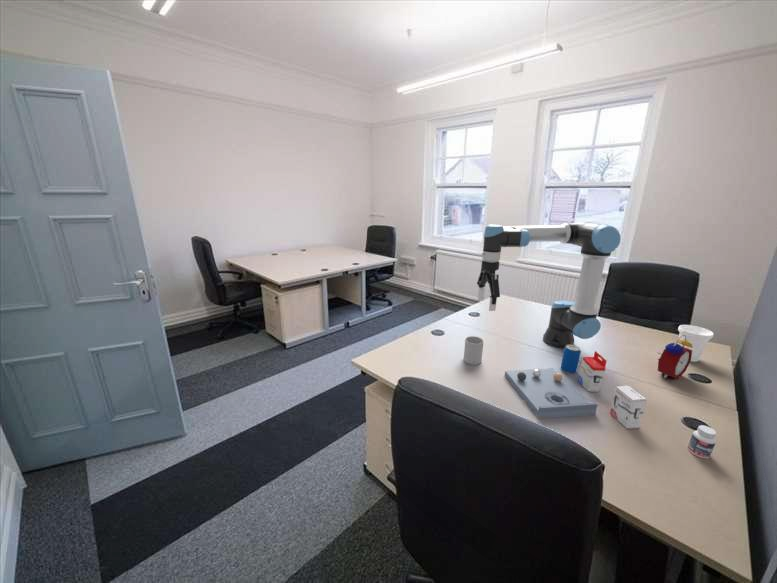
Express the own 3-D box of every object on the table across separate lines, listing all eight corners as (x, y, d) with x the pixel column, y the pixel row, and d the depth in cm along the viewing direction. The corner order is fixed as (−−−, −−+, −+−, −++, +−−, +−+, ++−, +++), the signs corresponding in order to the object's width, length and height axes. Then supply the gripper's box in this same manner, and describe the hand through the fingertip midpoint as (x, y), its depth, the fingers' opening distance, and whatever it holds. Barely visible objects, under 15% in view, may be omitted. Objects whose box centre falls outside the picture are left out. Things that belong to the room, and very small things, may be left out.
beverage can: (574, 368, 149) (579, 345, 145) (577, 375, 143) (582, 351, 140) (559, 366, 151) (563, 343, 147) (561, 373, 145) (566, 349, 142)
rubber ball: (523, 377, 137) (524, 370, 136) (527, 382, 134) (528, 374, 133) (515, 377, 137) (516, 370, 136) (519, 382, 134) (520, 375, 133)
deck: (504, 375, 143) (505, 366, 142) (551, 373, 145) (552, 364, 144) (539, 418, 117) (540, 408, 115) (595, 414, 119) (597, 404, 117)
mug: (481, 366, 151) (483, 345, 147) (463, 363, 153) (464, 342, 149) (481, 354, 162) (483, 334, 158) (464, 351, 164) (465, 332, 160)
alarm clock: (670, 383, 138) (683, 341, 132) (647, 373, 145) (659, 333, 139) (686, 374, 145) (700, 334, 138) (664, 365, 152) (675, 326, 146)
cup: (703, 357, 159) (713, 329, 154) (703, 367, 150) (714, 338, 145) (671, 349, 167) (679, 322, 162) (669, 358, 158) (678, 330, 154)
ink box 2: (577, 380, 140) (583, 350, 136) (588, 380, 140) (595, 350, 135) (588, 392, 132) (595, 360, 127) (600, 392, 132) (607, 360, 127)
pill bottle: (691, 456, 101) (700, 433, 98) (684, 444, 105) (692, 421, 102) (713, 461, 99) (722, 437, 96) (704, 448, 103) (713, 426, 101)
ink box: (608, 412, 120) (615, 385, 116) (620, 412, 120) (628, 384, 117) (626, 429, 112) (634, 400, 108) (640, 428, 112) (648, 399, 108)
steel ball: (537, 374, 140) (538, 367, 139) (542, 379, 136) (543, 371, 135) (530, 375, 139) (531, 367, 138) (534, 379, 136) (535, 372, 135)
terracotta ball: (558, 378, 137) (560, 370, 136) (563, 382, 134) (565, 375, 133) (551, 378, 137) (552, 371, 136) (555, 383, 133) (557, 376, 132)
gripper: (472, 255, 154) (469, 296, 160) (494, 267, 130) (489, 315, 137) (487, 254, 154) (483, 296, 161) (511, 266, 131) (505, 315, 137)
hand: (486, 305), depth 149 cm, fingers open, 13 cm apart
